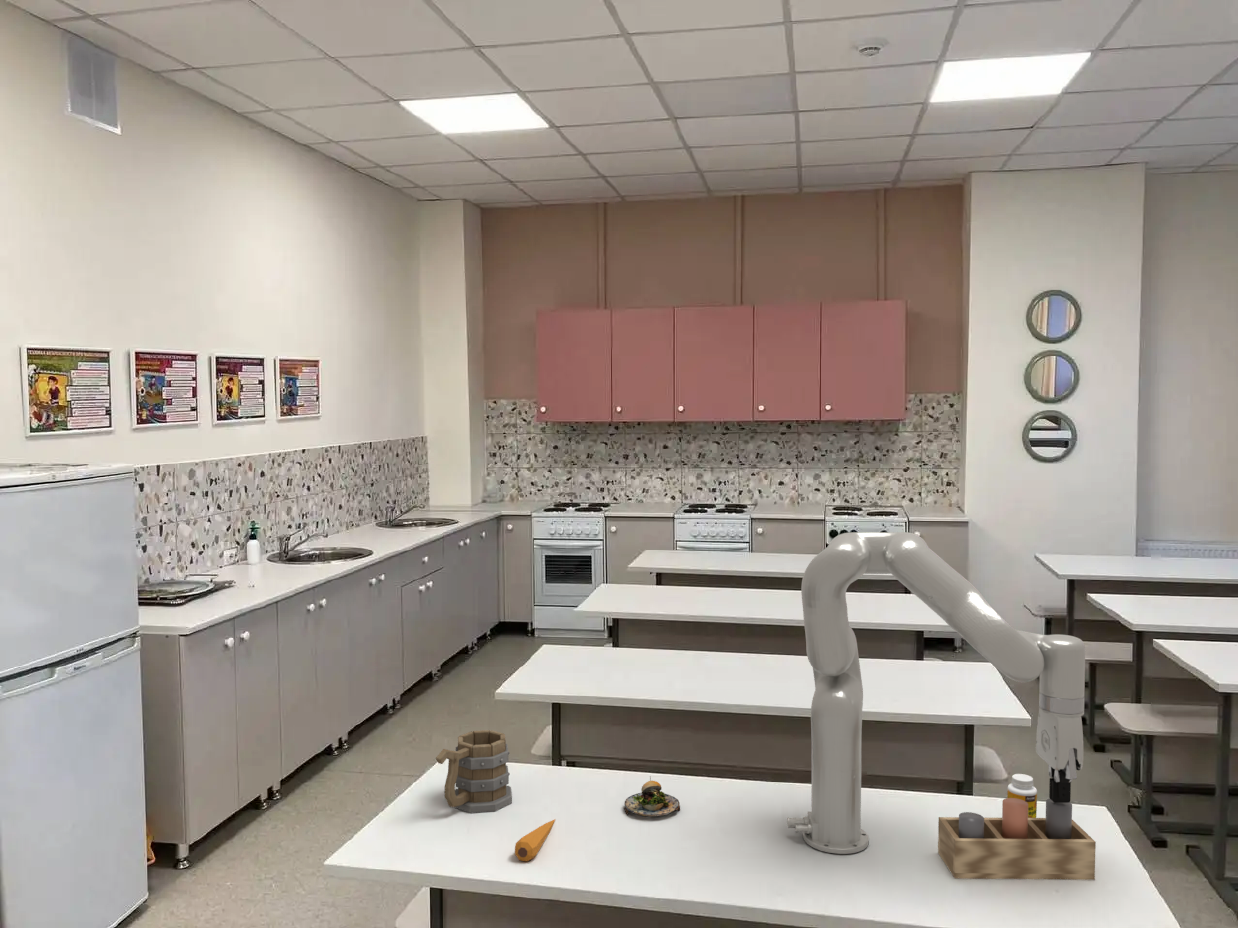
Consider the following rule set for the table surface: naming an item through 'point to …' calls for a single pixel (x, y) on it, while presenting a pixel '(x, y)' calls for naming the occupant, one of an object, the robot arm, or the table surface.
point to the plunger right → (1058, 820)
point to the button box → (1016, 853)
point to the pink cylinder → (1014, 819)
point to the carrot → (532, 842)
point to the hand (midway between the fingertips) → (1059, 800)
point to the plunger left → (971, 825)
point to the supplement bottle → (1024, 792)
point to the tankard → (478, 772)
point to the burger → (651, 801)
